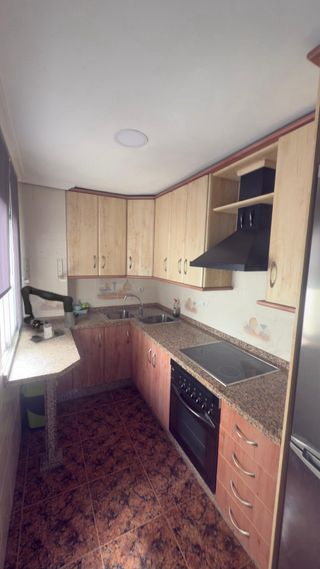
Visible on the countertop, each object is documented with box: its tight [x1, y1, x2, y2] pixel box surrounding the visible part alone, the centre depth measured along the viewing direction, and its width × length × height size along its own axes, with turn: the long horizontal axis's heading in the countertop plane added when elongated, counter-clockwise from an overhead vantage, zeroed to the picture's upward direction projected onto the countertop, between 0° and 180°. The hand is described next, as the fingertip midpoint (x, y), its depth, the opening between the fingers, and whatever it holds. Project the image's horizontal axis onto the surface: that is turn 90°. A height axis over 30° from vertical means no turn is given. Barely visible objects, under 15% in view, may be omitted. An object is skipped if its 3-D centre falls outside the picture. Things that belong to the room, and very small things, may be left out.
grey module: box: [43, 323, 53, 338], centre depth 222 cm, size 5×5×12 cm
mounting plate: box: [29, 328, 67, 346], centre depth 223 cm, size 28×14×4 cm, turn 140°
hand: (43, 326), depth 227 cm, fingers open, 8 cm apart
